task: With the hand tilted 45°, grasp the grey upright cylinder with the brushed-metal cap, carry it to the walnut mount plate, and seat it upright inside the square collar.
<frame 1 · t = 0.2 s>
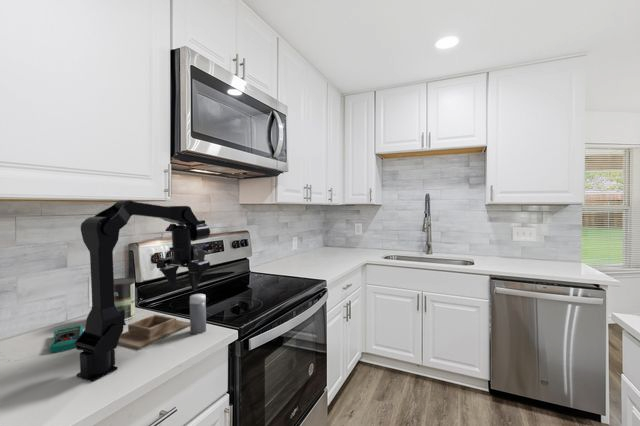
hand: (184, 289, 104), 14 cm above the worktop, tool pointing down, fingers open, 9 cm apart
grey upright cylinder: (198, 331, 105), on the worktop
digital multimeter: (67, 343, 98), on the worktop
coffee can: (120, 318, 118), on the worktop
dock: (152, 332, 104), on the worktop
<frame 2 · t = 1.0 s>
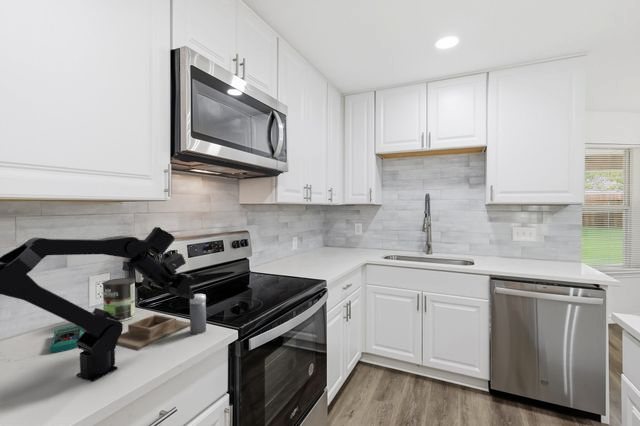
hand: (184, 295, 101), 13 cm above the worktop, tool tilted 45°, fingers open, 9 cm apart
nothing on the worktop moved.
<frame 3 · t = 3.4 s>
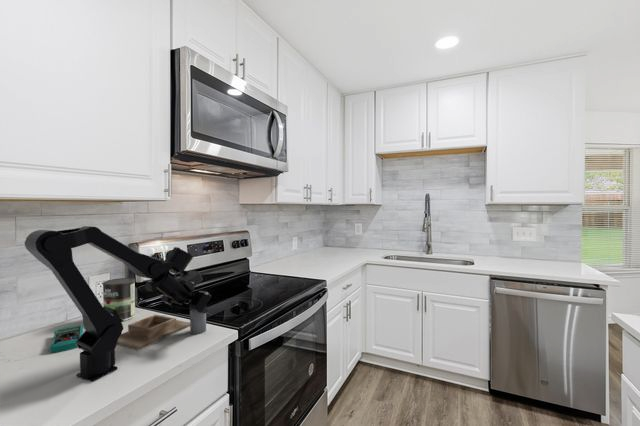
hand: (201, 310, 106), 7 cm above the worktop, tool tilted 45°, fingers closed on grey upright cylinder, 5 cm apart
grey upright cylinder: (198, 331, 105), on the worktop, touching gripper
everything else where it was.
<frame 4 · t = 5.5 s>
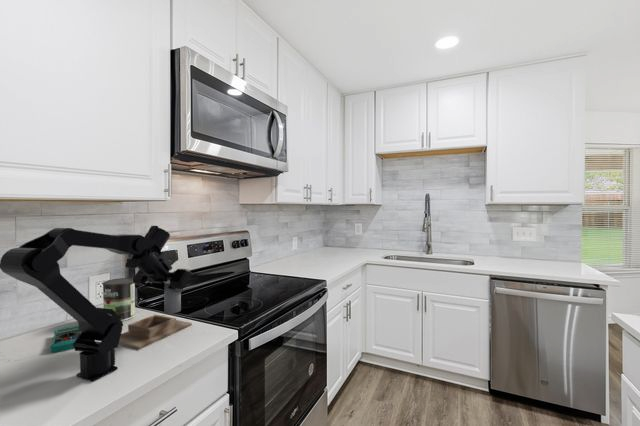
hand: (175, 290, 106), 13 cm above the worktop, tool tilted 45°, fingers closed on grey upright cylinder, 5 cm apart
grey upright cylinder: (172, 311, 105), point 7 cm above the worktop, touching gripper
everything else where it was.
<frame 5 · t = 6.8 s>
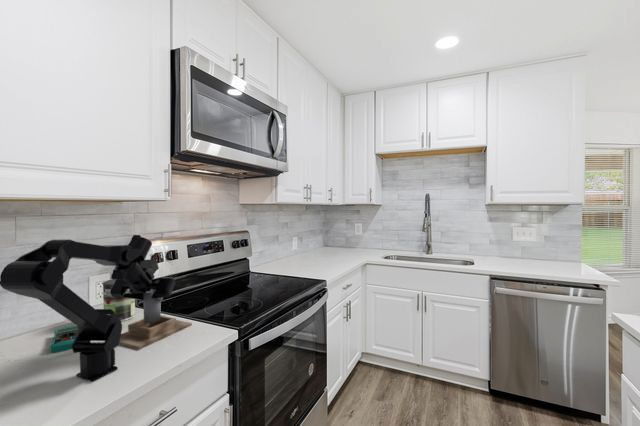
hand: (154, 299, 105), 11 cm above the worktop, tool tilted 45°, fingers closed on grey upright cylinder, 5 cm apart
grey upright cylinder: (152, 320, 104), point 4 cm above the worktop, touching gripper
everything else where it was.
when the fingers open (8 cm above the worktop, at t = 7.7 s): grey upright cylinder drops 1 cm, resting on dock.
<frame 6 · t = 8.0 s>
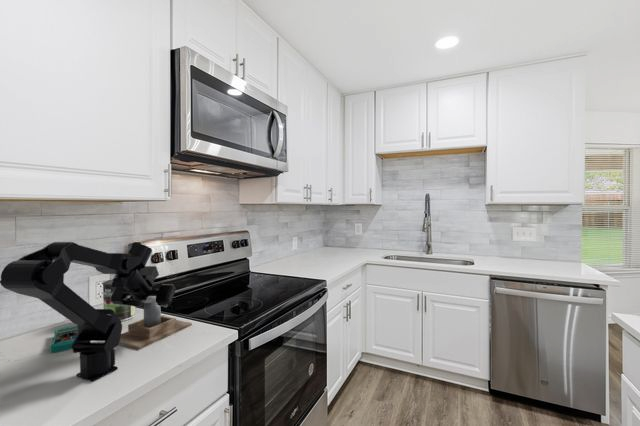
hand: (154, 306, 105), 9 cm above the worktop, tool tilted 45°, fingers open, 8 cm apart
grey upright cylinder: (152, 330, 104), point 1 cm above the worktop, touching dock
everything else where it was.
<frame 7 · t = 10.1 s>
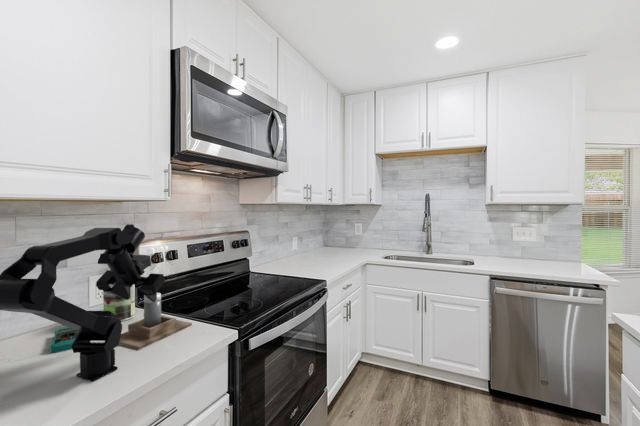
hand: (141, 299, 97), 13 cm above the worktop, tool tilted 35°, fingers open, 9 cm apart
nothing on the worktop moved.
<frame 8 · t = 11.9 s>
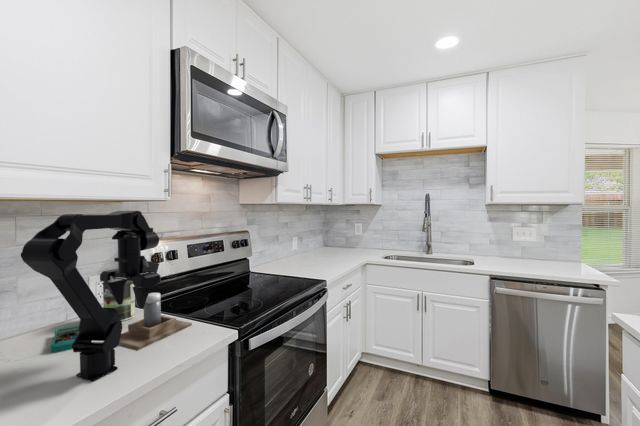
hand: (130, 306, 91), 13 cm above the worktop, tool pointing down, fingers open, 9 cm apart
nothing on the worktop moved.
at the end: grey upright cylinder 0.1 cm off-centre on the dock, point 0.9 cm above the dock's base; grey upright cylinder tilted 2°; the gripper is holding nothing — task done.
